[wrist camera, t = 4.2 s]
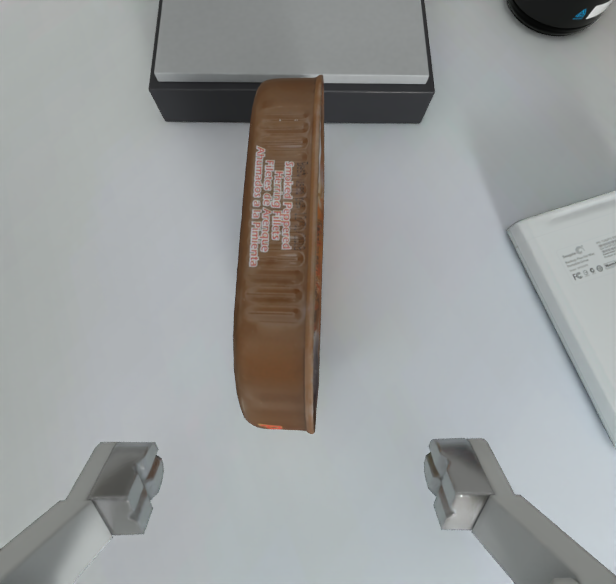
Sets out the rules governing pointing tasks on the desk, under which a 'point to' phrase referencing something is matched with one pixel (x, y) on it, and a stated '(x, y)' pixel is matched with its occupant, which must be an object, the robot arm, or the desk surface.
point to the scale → (292, 57)
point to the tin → (281, 257)
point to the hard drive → (578, 288)
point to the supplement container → (558, 14)
